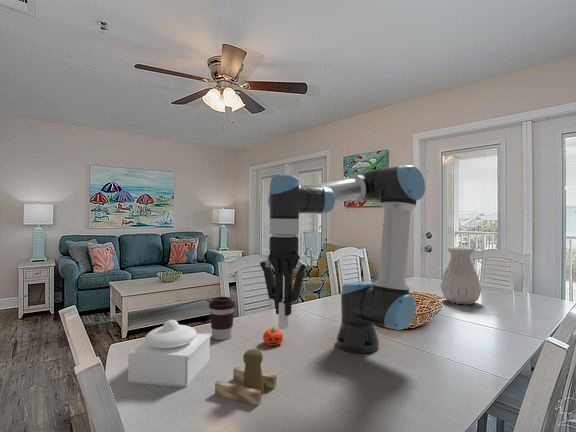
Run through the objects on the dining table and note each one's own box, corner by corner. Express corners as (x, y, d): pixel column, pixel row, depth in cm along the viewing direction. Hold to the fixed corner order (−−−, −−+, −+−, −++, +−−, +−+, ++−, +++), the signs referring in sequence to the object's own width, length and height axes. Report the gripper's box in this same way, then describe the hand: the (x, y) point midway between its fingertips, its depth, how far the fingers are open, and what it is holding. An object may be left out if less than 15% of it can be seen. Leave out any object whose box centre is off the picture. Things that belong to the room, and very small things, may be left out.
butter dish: (159, 357, 113) (159, 310, 113) (211, 360, 111) (211, 312, 111) (127, 383, 96) (128, 327, 96) (188, 388, 93) (188, 330, 93)
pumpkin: (286, 344, 126) (288, 328, 125) (271, 350, 120) (273, 333, 120) (273, 337, 131) (274, 321, 130) (257, 343, 125) (259, 326, 124)
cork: (242, 386, 94) (242, 346, 94) (264, 385, 94) (264, 346, 94) (241, 398, 88) (241, 356, 88) (264, 397, 88) (264, 355, 88)
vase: (446, 306, 177) (446, 249, 177) (436, 297, 197) (436, 245, 197) (487, 308, 174) (487, 250, 174) (473, 298, 194) (473, 246, 194)
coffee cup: (229, 342, 126) (229, 302, 126) (204, 340, 128) (204, 301, 128) (238, 333, 136) (238, 296, 136) (215, 331, 138) (215, 295, 138)
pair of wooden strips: (276, 386, 94) (276, 375, 94) (258, 405, 84) (258, 393, 84) (236, 377, 99) (236, 366, 99) (214, 394, 90) (215, 383, 90)
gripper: (312, 235, 88) (312, 326, 88) (268, 234, 93) (267, 320, 93) (302, 237, 81) (301, 335, 81) (254, 235, 87) (254, 328, 86)
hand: (283, 327), depth 87 cm, fingers closed
